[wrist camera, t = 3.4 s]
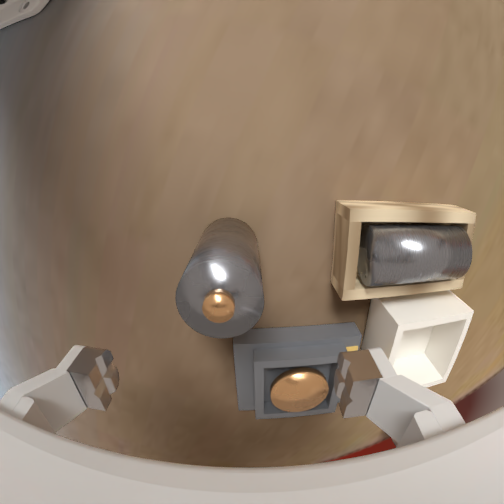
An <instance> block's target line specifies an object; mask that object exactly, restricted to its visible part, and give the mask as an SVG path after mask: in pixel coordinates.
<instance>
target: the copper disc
mask: <svg viewBox="0 0 504 504" xmlns="http://www.w3.org/2000/svg"><path fill="white" fill-rule="evenodd" d="M328 391H329V387H328V383H327V380H326V377H325V375H324V374H323V373H322V372H320V371H319V370H317V369H314V368H309V367H300V368H294V369H290V370H288V371H285V372H283V373H282V374H280V375H279V376H277V377H276V378H275V379H274V380H273V382H272V384H271V386H270V396H271V401H272V403H273V405H274V406H275V407H277V408H278V409H280V410H283V411H287V412H301V411H306V410H309V409H311V408H314V407H315V406H317V405H319V404H320V403H321V402H322V401H323V400H324V399H325V398H326V396H327V394H328Z"/></svg>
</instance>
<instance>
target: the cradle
mask: <svg viewBox="0 0 504 504" xmlns="http://www.w3.org/2000/svg"><path fill="white" fill-rule="evenodd" d="M361 338H362V335H361V333H360V331H359V329H358V328H357V326H356V324H355V322H349V323H338V324H327V325H314V326H299V327H282V328H259V329H250V330H248V331H247V332H245V333H243V334H241V335H239V336H235V337H233V350H234V362H235V374H236V386H237V397H238V408H239V410H255V414H256V419H270V418H285V417H297V416H307V415H316V414H324V413H332V412H335V409H336V406H337V403H339V402H340V398H339V397H338V396H336V393H335V389H334V374H335V370H336V369H337V368H338V367H339V366H338V363H337V358H338V355H339V352H347V351H356V350H359V347H360V342H361ZM300 367H309V368H314V369H317V370H319V371H320V372H322V373H323V374H324V375H325V377H326V380H327V383H328V387H329V391H328V394H327V396H326V398H325V399H324V400H323V401H322V402H321V403H320V404H319V405H317V406H315V407H314V408H311V409H309V410H306V411H301V412H287V411H283V410H280V409H278V408H277V407H275V406H274V405H273V403H272V401H271V396H270V386H271V384H272V382H273V380H274V379H275V378H276V377H277V376H279V375H280V374H282V373H283V372H285V371H288V370H290V369H294V368H300Z"/></svg>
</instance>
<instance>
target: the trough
mask: <svg viewBox="0 0 504 504" xmlns="http://www.w3.org/2000/svg"><path fill="white" fill-rule="evenodd" d="M475 219H476V213H474V212H471V211H469V210H466V209H464V208H461V207H458V206H455V205H447V204H431V203H413V202H388V201H349V200H336V209H335V230H334V246H333V260H332V272H331V283H332V285H333V287H334V288H335V290H336V292H337V293H338V295H339V297H340V298H341V300H342V301H348V300H360V299H372V298H383V297H393V296H402V295H412V294H420V293H429V292H437V291H445V290H452V289H459V288H462V285H463V281H464V277H465V275H464V276H463V277H461V278H455V279H446V280H437V281H427V282H416V283H405V284H394V285H382V286H366V285H364V284H363V282H362V281H361V278H360V276H359V273H358V268H357V265H358V256H359V246H360V234H361V228H362V227H363V226H364V225H457V226H460V227H462V228H463V229H464V230H465V231H466V232H467V234H468V236H469V238H470V241H471V244H472V238H473V232H474V226H475Z"/></svg>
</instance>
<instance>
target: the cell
mask: <svg viewBox="0 0 504 504" xmlns="http://www.w3.org/2000/svg"><path fill="white" fill-rule="evenodd" d="M176 305H177V309H178V311H179V314H180V315H181V317H182V319H183V320H184V321H185V322H186V323H187V324H188V325H189V326H190V327H191V328H192V329H194V330H195V331H197V332H199V333H201V334H203V335H205V336H209V337H213V338H231V337H235V336H239V335H241V334H243V333H245V332H247V331H248V330H250V329H251V328H252V327H253V326H254V325H255V324H256V323H257V322H258V320H259V319H260V317H261V315H262V312H263V308H264V294H263V286H262V278H261V269H260V261H259V253H258V244H257V239H256V236H255V233H254V232H253V230H252V229H251V228H250V227H249V225H247V224H246V223H245V222H243V221H241V220H238V219H235V218H222V219H219V220H216V221H214V222H213V223H211V224H210V225H209V226H208V227H207V228H206V229H205V231H204V232H203V234H202V236H201V238H200V240H199V242H198V244H197V246H196V248H195V250H194V253H193V255H192V257H191V259H190V261H189V263H188V265H187V267H186V269H185V271H184V273H183V275H182V278H181V280H180V282H179V284H178V287H177V290H176Z"/></svg>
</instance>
